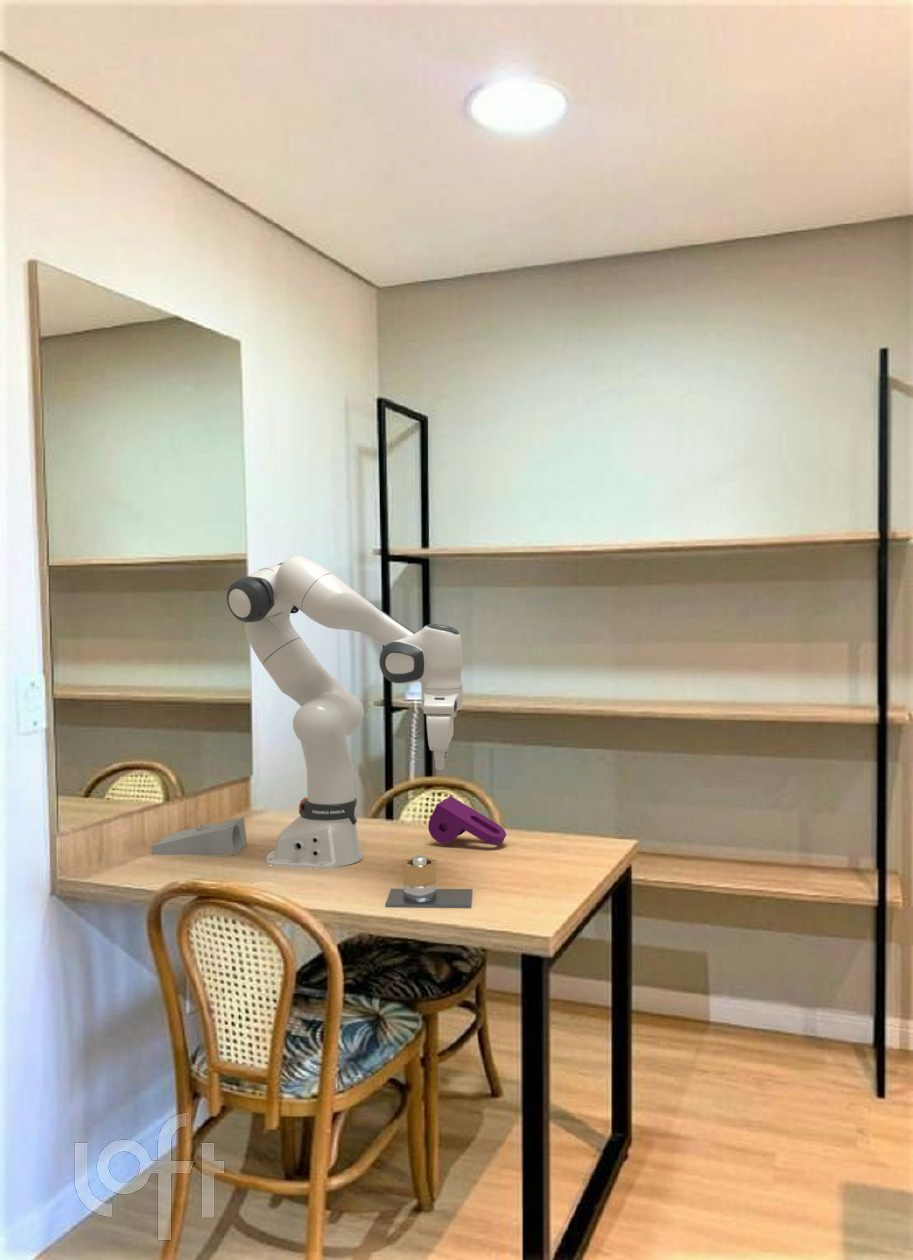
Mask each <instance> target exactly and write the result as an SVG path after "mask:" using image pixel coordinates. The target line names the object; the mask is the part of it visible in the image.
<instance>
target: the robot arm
mask: <svg viewBox="0 0 913 1260" xmlns="http://www.w3.org/2000/svg"><path fill="white" fill-rule="evenodd" d="M226 603H227V607H228V610H229V611H230V613H231V614H232V615H233V617H234V618H236V619H237V620H239V621H240V622H244V623H246V624H245V629H244V631H245V636H246V638H247V640H248V643H249V644H250V646H251V649H252V651H253V653H254V654H255V655H256V657H257V659H258V660H259V662H260V663H261V665H262V666H263V668H264V669H265V671H266V672H267V673H268V675H269V676H270V677H271V680H273V682H274V683H275V684H276V686H277V688H278V689H279V690H280V691H281V692H282V693H283V694H284V695H286V696H288V697H290V698H291V699H292V700H293V701H294V702H296V703H297V704H298V705H299V706H300V708H298V710H297V711H296V712H295V714H294V717H293V721H292V728H293V732H294V734H295V736H296V737H297V738H298V740H299V742H300V744H301V748H302V752H303V756H304V760H305V765H306V784H307V785H306V786H307V791H306V792H307V797H303V798H302V799H301V800H300V803H299V804H298V805H299V806H298V813H299V814H298V815H299V816H298V817H297V818H295V819H294V821H292V822H290V824H288V825H287V826H286V827H284V829H282V830H281V831H280V832H279V834H278V835H277V839H276V843H275V847H274V848H275V849H274V850H272V851H270V852H269V853H268V854H267V856H266V857H265V864H266V863H267V864H268V865H272V866H271V867H274V866H285V867H284V868H289V867H294V868H293V869H304V868H317V869H316V870H320V869H329V870H332V869H331V868H333V869H336V868H339V867H344V866H349V865H352V864H355V863H358V862H360V861H361V860H362V859H363V857H364V856H363V854H362V850H361V846H360V842H359V837H358V830H357V829H358V828H357V821H358V804H357V803H358V802H357V797H356V796H355V794H356V793H355V791H356V790H355V786H356V785H355V766H354V763H353V761H352V760H351V758H350V754H349V750H348V745H347V736H350V735H351V734H354V732H355V731H356V730H357V729H358V728H359V726H360V725H361V723H362V722H363V719H364V716H365V715H364V713H365V711H364V706H363V703H362V702H361V700H360V699H359V698H358V697H357V696H356V695H355V694H352V693H351V692H349V691H348V690H347V689H346V688H345V687H344V686H343V685H342V684H341V683H340V682H339V681H338V680H337V679H336V678H335V677H333V675H332V674H331V673H329V671H327V669H325V667H324V666H323V665H322V664H321V663H320V662H319V661H318V659H317V658H316V656H315V655H314V654H313V652H312V651H311V650H310V648H309V647H308V646H307V644H306V643H305V641H304V640H303V639H302V637H301V636H300V634H299V633H298V631H296V630H295V628H294V626H293V625H292V622H291V618H290V617H291V614H297V613H298V612H299V611H301V612H302V613H303V614H304V615H305V616H307V617H308V618H309V619H310V620H312V621H314V622H316V623H318V624H319V625H322V626H323V627H326V628H328V629H334V630H335V629H336V630H343V631H344V630H345V631H352V632H357V633H361V634H363V635H367V636H369V637H370V638H373V639H374V640H375V641H376V642H378V643H380V644H381V645H382V646H384V647H383V648H382V650H381V652H380V654H379V658H378V659H379V661H378V662H379V668H380V672H381V673H382V675H383V676H384V678H385V679H386V680H387V681H389V682H391V683H393V684H398V685H405V684H411V683H416V682H419V683H420V684H421V690H420V692H421V693H420V695H421V696H420V697H421V698H420V699H421V702H420V704H421V706H420V707H421V709H422V710H423V711H422V712H423V714H425V715H426V716H425V718H426V719H425V721H426V722H425V723H426V733H427V743H428V747H429V750H430V752H431V751H432V752H433V756H434V762H435V763H434V768H435V769H436V771H438V770H439V771H442V770H444V768H445V762H447V761H448V758H449V745H450V742H451V740H452V738H453V736H454V718H455V717H457V716H458V715H457V714H458V713H457V712H458V711H460V710H462V709H463V706H464V704H463V701H464V700H463V693H464V692H463V691H464V687H463V681H462V671H463V668H464V667H463V666H464V657H463V656H464V654H463V642H462V637H461V633H460V632H459V630H457V629H456V628H454V627H452V626H449V625H446V624H445V625H444V624H437V623H430V624H426V625H425V626H424V627H422V629H420V630H419V631H417V632H415V631H413V630H411V629H410V628H408V627H407V626H405V625H404V624H402V623H401V622H399V621H398V620H396V619H395V618H393V617H392V616H390V614H388V613H386V612H385V611H383V610H381V609H380V608H378V607H377V606H375V605H374V604H373V603H371V602H370V601H369V600H368V599H366V598H365V597H363V596H362V595H360V594H359V593H358V592H356V591H355V590H354V589H353V588H352V587H350V585H348V584H347V583H346V582H344V581H343V580H341V578H339V577H338V576H336V575H335V574H334V573H333V572H331V571H330V570H329V569H327V568H325V567H324V566H322V565H320V564H319V563H317V562H316V561H314V560H312V559H309V558H307V557H305V556H303V555H294V556H290V557H288V558H287V559H285V560H284V561H283V562H280V563H278V564H276V565H275V564H274V565H270V566H266V567H262V568H260V569H258V570H257V571H254V572H253V573H251V574H248V575H245V576H242V577H239V578H238V579H236V580H234V582H232V584H231V585H230V586H229V587H228V589H227V593H226ZM267 864H266V865H267ZM268 865H267V866H268ZM296 867H297V868H296Z"/></svg>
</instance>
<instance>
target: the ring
mask: <svg viewBox="0 0 913 1260" xmlns="http://www.w3.org/2000/svg"><path fill="white" fill-rule="evenodd" d="M436 881H437V860H435V859H434V858H433V859H432V858H430V857H427V865H424V866H413V857H411V858H408V859H404V860H403V862H402V885H403V884H405V885H408V886H411V887H426V886H430V885H433V884H436Z"/></svg>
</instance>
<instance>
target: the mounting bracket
mask: <svg viewBox="0 0 913 1260" xmlns="http://www.w3.org/2000/svg"><path fill="white" fill-rule="evenodd" d="M427 825H428V828H427V829H428V832H429V835H430V836H431V838H433V840H434V841H436V842H438V843H440V844H449V843H451V842H452V841H454V840H455V839H457V838H458V837H459V836H461V835H462V834H464V833H465V832H467V833H469V834H471V835H472V836H474V837H475V838H477V839H478V840H480V841H483V842H484V843H487V844H490V845H494V846H500V845H502V844H503V842H504V840H505V839H506V836H507V832H506V831H505V829H504V828H503V827H502V826H501V825H499V824H498V823H497V822H495V821H493V820H491V819H490V818H488V816H485V815H484V814H482V813H480V812H478V811H476V809H473V808H472V807H471V806H469V805H467V804H465V803H463V802H462V801H460V800H458V799H457V798H455V797H454V796H452V795H450V796H448V797H447V798H444V799H443V800H441V801H439V802H438V803H437V804H436V805H435V808H434V810H433V811H432V814H431V816H430V818H429V820H428V823H427Z"/></svg>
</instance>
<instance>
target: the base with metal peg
mask: <svg viewBox="0 0 913 1260" xmlns="http://www.w3.org/2000/svg"><path fill="white" fill-rule="evenodd" d="M412 858H413V866H424V865H427V858H428V857H427V856H425V855H414V856H412ZM437 885H438V883H437V880H436V884H433V885H430V886H426V887H411V886H408V885H405V884H403V883H402V888H390V891H389V893H388V896H387V898H386V902H385V904H384V905H385V906H384V907H385V908H408V909H409V908H411V909H412V908H414V909H415V908H417V909H418V908H419V909H420V908H423V909H424V908H425V909H472V903H473V895H474V893H473V892H474V890H473V888H437Z"/></svg>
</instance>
